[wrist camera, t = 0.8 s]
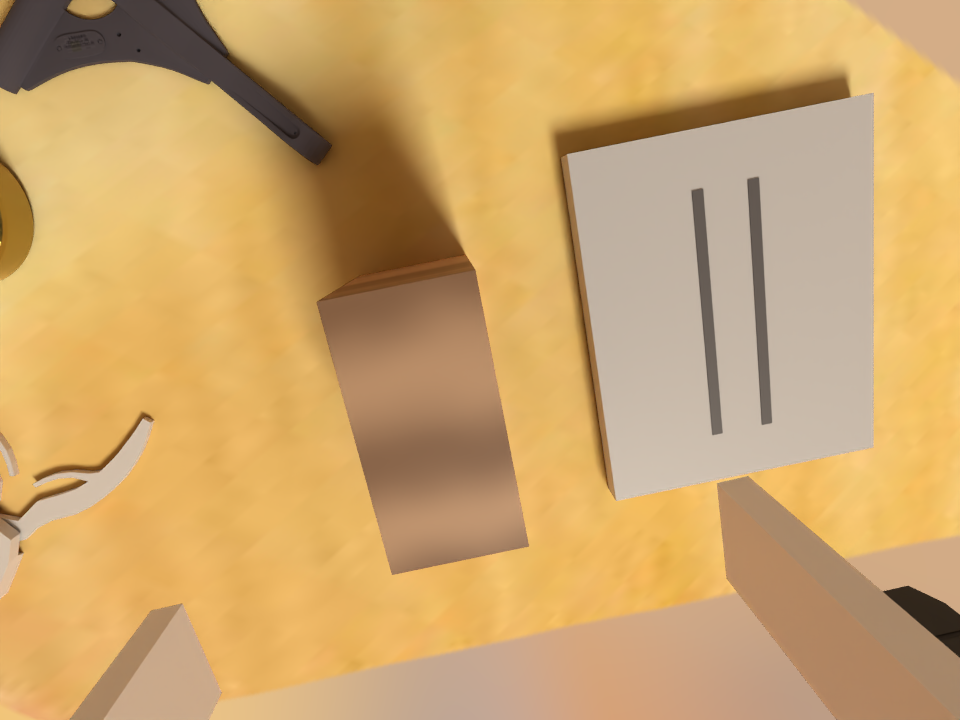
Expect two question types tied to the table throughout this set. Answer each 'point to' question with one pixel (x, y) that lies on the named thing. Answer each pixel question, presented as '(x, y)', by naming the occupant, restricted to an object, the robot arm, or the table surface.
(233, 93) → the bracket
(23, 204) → the brass door knob
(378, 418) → the block
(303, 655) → the table surface
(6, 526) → the pliers
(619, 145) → the board
